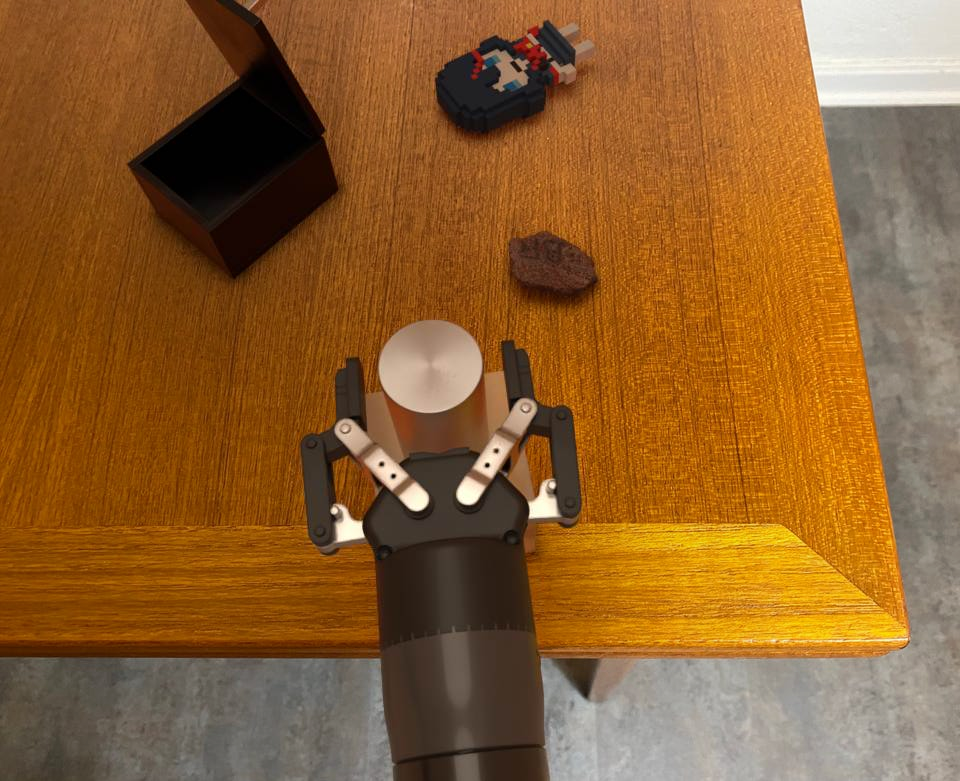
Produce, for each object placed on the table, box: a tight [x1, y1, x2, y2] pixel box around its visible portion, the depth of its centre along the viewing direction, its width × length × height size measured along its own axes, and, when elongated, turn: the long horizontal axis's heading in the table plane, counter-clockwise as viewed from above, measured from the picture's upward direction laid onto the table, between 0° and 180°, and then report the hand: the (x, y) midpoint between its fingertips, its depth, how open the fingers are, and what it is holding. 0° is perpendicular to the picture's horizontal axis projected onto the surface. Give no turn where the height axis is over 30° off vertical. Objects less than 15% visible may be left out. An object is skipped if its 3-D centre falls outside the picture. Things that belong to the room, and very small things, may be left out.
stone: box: [507, 230, 599, 299], centre depth 73 cm, size 7×7×3 cm
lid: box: [185, 0, 327, 137], centre depth 68 cm, size 13×11×5 cm
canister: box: [377, 318, 489, 459], centre depth 52 cm, size 6×6×12 cm
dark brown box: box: [126, 77, 340, 280], centre depth 76 cm, size 13×11×7 cm
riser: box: [365, 370, 537, 554], centre depth 62 cm, size 10×10×10 cm
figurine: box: [434, 19, 596, 135], centre depth 82 cm, size 9×4×15 cm
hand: (430, 355), depth 49 cm, fingers open, 8 cm apart
